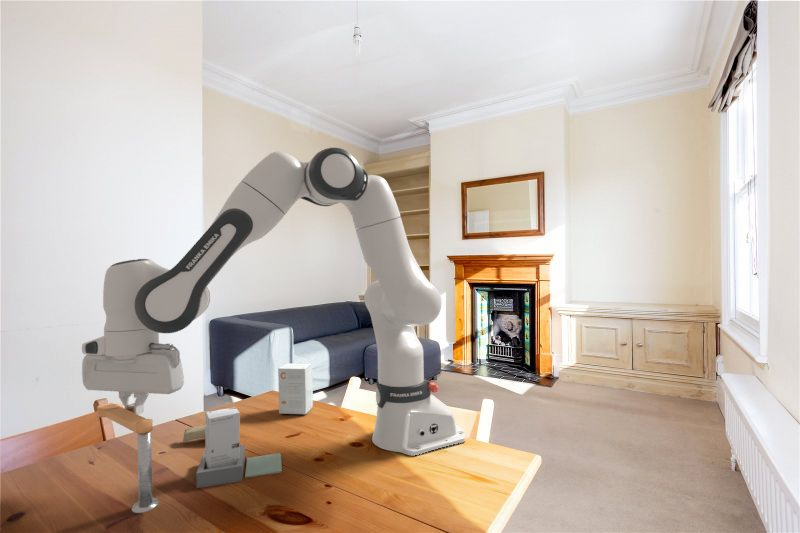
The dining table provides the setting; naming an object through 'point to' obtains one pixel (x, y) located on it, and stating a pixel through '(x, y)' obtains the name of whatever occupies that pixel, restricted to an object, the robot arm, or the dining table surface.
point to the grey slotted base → (220, 472)
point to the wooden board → (125, 418)
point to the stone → (194, 433)
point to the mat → (263, 465)
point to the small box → (295, 388)
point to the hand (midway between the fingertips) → (134, 413)
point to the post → (145, 475)
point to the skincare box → (222, 438)
